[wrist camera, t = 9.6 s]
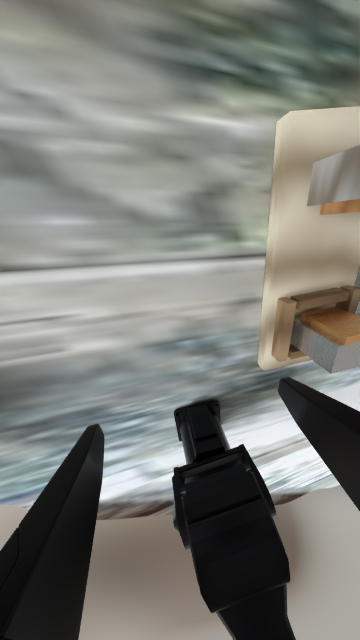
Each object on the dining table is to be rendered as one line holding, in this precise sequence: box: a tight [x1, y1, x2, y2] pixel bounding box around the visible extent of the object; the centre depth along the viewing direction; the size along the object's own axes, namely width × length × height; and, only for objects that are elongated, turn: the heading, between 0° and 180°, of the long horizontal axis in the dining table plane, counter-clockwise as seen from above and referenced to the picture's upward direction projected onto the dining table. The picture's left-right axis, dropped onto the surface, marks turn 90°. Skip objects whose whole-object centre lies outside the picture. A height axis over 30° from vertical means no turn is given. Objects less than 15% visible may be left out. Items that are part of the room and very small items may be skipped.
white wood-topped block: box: [290, 307, 360, 373], centre depth 19 cm, size 4×5×6 cm
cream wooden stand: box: [258, 106, 360, 371], centre depth 17 cm, size 24×10×8 cm, turn 7°
